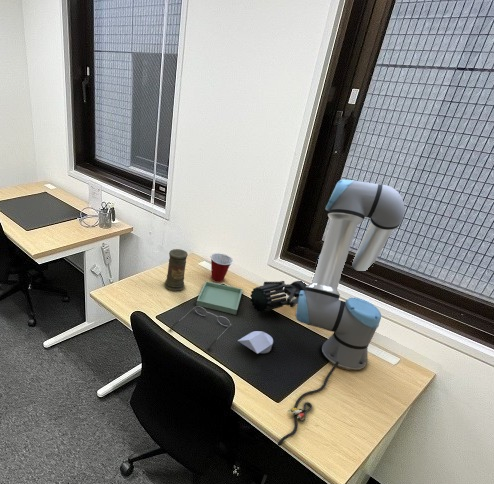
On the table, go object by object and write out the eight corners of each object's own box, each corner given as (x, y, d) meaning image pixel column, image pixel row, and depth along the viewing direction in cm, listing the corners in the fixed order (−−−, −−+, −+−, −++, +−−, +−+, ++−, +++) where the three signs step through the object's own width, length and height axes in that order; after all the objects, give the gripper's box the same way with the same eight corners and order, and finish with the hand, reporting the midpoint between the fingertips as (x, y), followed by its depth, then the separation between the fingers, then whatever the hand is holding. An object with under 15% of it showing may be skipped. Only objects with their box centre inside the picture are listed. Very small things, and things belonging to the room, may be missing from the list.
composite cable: (306, 402, 123) (308, 397, 122) (319, 413, 120) (321, 407, 118) (286, 414, 119) (288, 408, 117) (298, 425, 115) (301, 420, 114)
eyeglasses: (231, 328, 156) (233, 320, 153) (208, 352, 143) (210, 344, 141) (193, 310, 165) (194, 303, 163) (169, 332, 153) (170, 324, 150)
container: (162, 282, 184) (165, 249, 175) (179, 280, 187) (183, 247, 177) (169, 292, 177) (173, 258, 168) (186, 290, 180) (191, 256, 170)
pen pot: (264, 316, 160) (270, 295, 154) (248, 303, 168) (253, 283, 163) (282, 312, 164) (289, 291, 158) (266, 299, 172) (271, 279, 166)
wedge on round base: (255, 360, 139) (275, 347, 146) (259, 346, 136) (280, 333, 143) (235, 347, 145) (256, 335, 152) (239, 333, 142) (259, 321, 149)
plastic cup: (223, 287, 183) (227, 265, 177) (203, 279, 188) (206, 258, 182) (232, 278, 190) (237, 257, 184) (212, 271, 196) (216, 250, 189)
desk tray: (236, 314, 164) (237, 309, 162) (196, 305, 169) (196, 300, 168) (241, 293, 179) (242, 289, 177) (204, 285, 184) (205, 280, 182)
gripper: (320, 309, 163) (280, 319, 155) (282, 283, 181) (244, 291, 173) (325, 294, 159) (285, 304, 151) (286, 269, 177) (248, 277, 169)
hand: (263, 297), depth 162 cm, fingers closed on pen pot, 11 cm apart
